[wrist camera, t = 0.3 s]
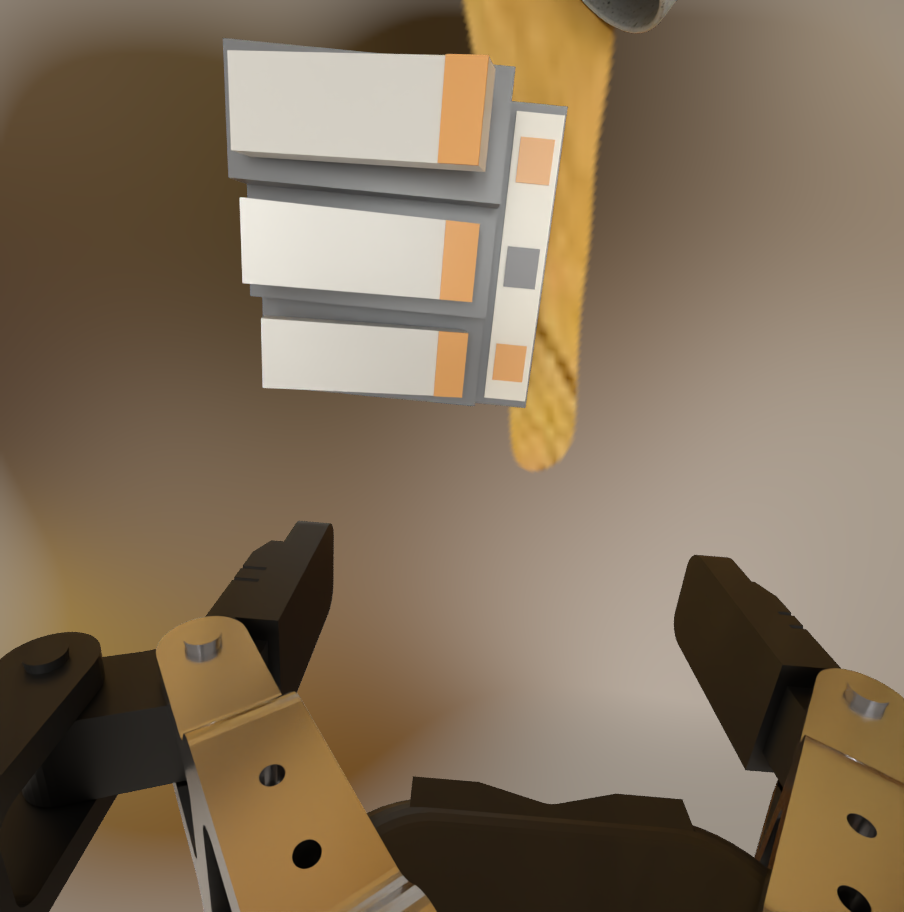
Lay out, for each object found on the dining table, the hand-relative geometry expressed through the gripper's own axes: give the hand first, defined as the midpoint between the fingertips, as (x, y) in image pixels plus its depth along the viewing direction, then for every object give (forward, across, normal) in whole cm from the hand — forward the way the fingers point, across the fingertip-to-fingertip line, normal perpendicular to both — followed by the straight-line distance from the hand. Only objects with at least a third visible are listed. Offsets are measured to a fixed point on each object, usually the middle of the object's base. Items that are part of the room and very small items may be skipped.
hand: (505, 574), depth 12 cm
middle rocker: (+20, +7, -6) cm, 22 cm away
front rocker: (+18, +7, -12) cm, 23 cm away
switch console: (+27, +6, -6) cm, 29 cm away
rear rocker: (+23, +7, 0) cm, 24 cm away
